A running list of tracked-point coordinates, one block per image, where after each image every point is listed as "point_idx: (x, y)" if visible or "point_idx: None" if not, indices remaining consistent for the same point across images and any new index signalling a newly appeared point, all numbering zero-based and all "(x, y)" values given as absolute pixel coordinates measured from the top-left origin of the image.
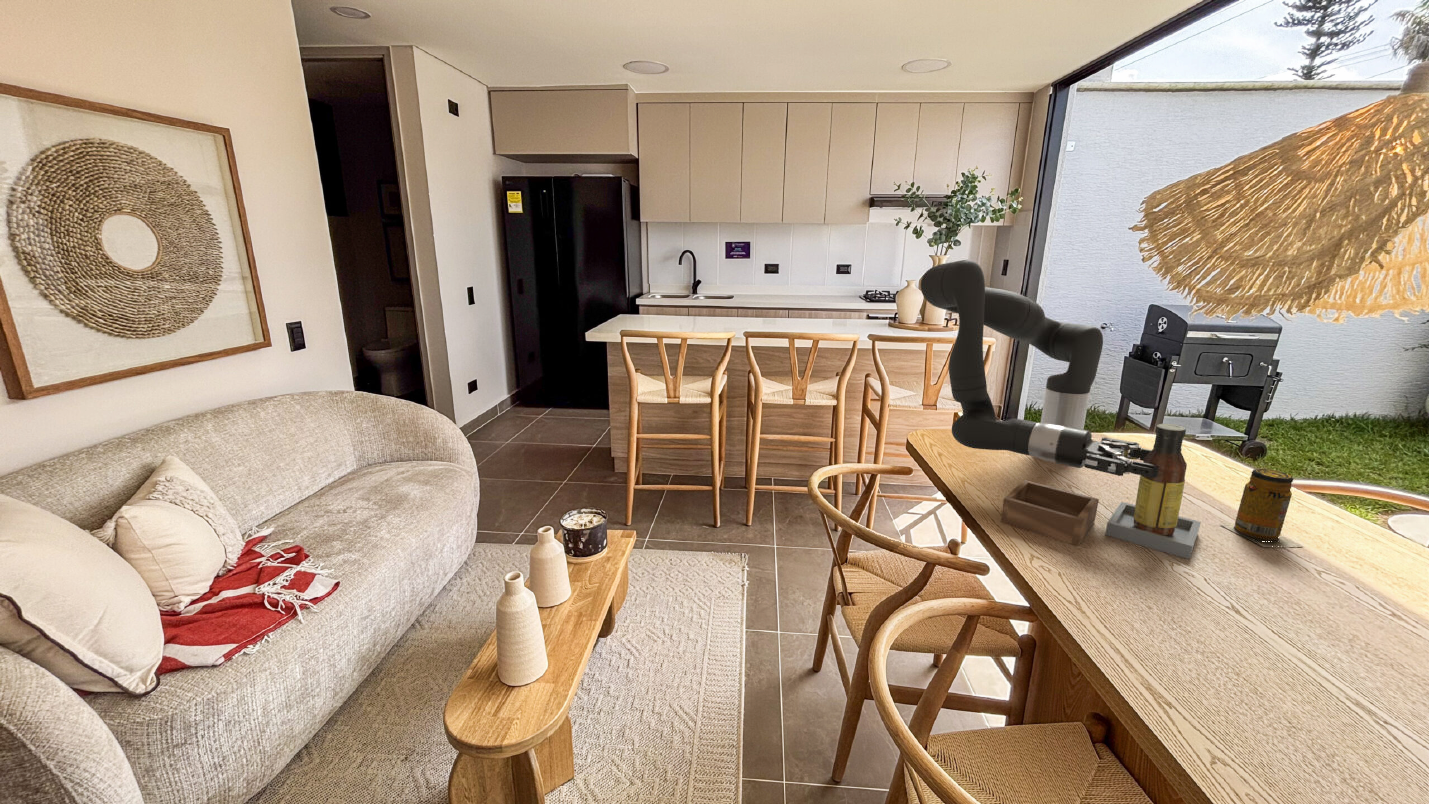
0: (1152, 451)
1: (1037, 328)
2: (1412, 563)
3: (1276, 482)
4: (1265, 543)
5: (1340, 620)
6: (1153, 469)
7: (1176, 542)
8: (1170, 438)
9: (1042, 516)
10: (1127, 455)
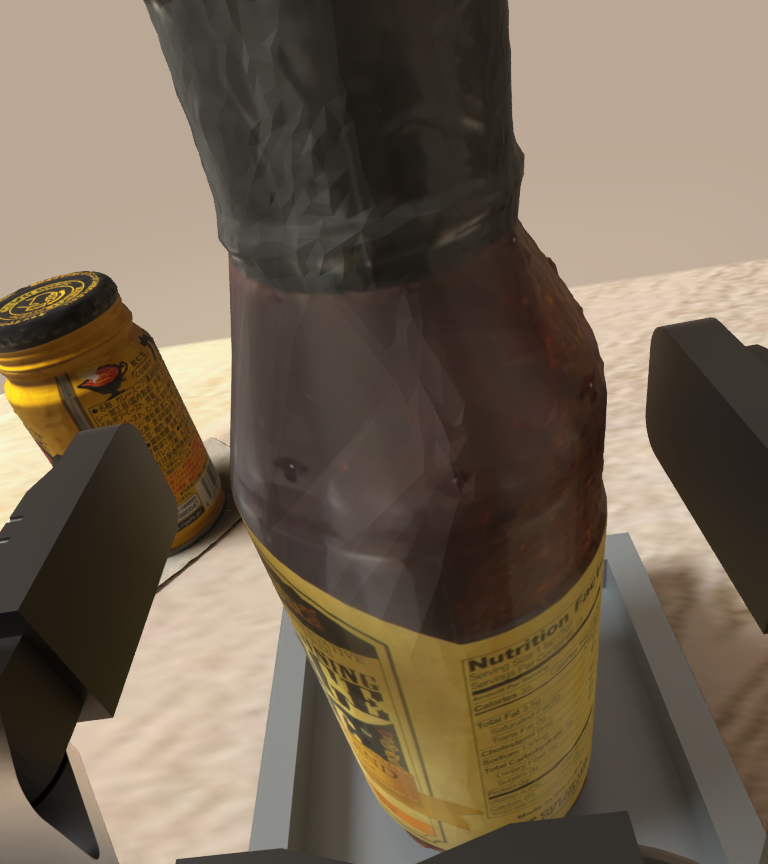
0: (437, 315)
1: None
2: (183, 348)
3: (117, 295)
4: None
5: (623, 333)
6: (757, 350)
7: (651, 583)
8: None
9: None
10: (93, 857)
